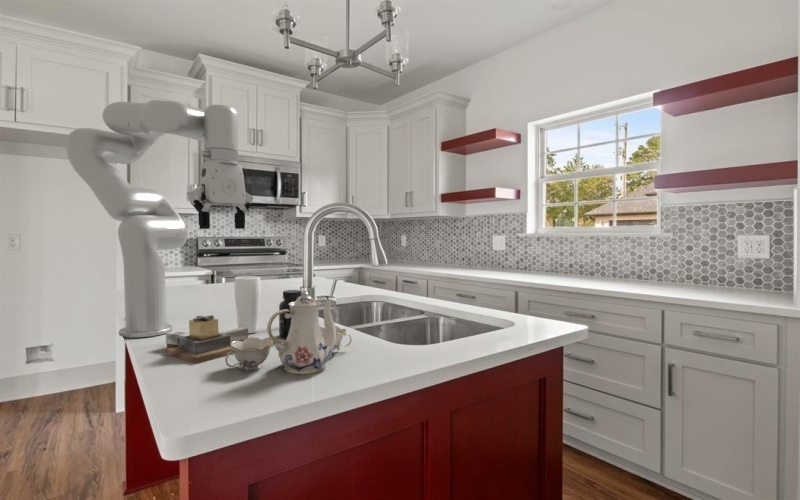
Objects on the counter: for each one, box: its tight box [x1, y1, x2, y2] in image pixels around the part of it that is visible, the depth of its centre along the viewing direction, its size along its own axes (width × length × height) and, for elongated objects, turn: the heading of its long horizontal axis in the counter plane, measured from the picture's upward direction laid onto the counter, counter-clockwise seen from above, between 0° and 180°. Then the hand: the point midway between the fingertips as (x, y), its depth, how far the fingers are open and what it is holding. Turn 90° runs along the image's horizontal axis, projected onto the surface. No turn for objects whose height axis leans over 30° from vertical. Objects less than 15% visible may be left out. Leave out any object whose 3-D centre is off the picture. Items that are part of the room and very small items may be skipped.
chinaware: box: [225, 289, 352, 375], centre depth 93 cm, size 28×17×17 cm, turn 134°
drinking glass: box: [233, 275, 262, 335], centre depth 119 cm, size 7×7×15 cm
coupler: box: [188, 314, 219, 342], centre depth 100 cm, size 4×4×7 cm
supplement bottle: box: [278, 289, 303, 340], centre depth 115 cm, size 7×7×12 cm
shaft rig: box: [165, 327, 249, 364], centre depth 104 cm, size 17×16×4 cm
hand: (222, 228), depth 107 cm, fingers open, 9 cm apart
